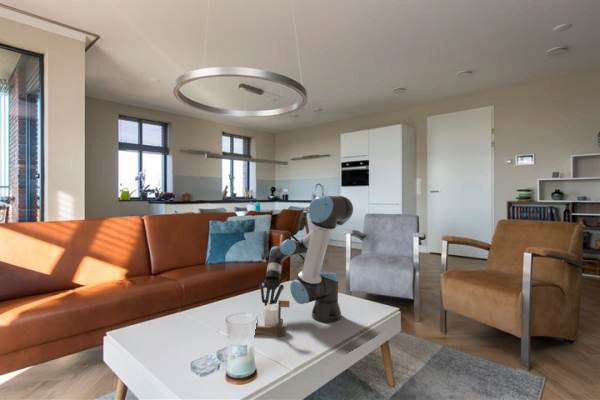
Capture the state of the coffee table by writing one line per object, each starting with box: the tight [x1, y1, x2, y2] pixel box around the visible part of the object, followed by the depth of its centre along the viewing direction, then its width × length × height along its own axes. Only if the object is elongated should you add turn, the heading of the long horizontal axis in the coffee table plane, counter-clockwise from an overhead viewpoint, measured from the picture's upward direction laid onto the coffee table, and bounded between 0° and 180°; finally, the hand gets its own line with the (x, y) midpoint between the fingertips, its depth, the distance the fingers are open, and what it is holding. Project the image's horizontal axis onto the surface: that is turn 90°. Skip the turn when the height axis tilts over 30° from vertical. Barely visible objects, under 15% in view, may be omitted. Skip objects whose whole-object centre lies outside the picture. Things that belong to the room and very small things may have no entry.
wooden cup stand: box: [254, 299, 290, 338], centre depth 149 cm, size 12×20×16 cm, turn 86°
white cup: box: [263, 304, 278, 327], centre depth 151 cm, size 8×8×10 cm
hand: (266, 316), depth 155 cm, fingers closed
